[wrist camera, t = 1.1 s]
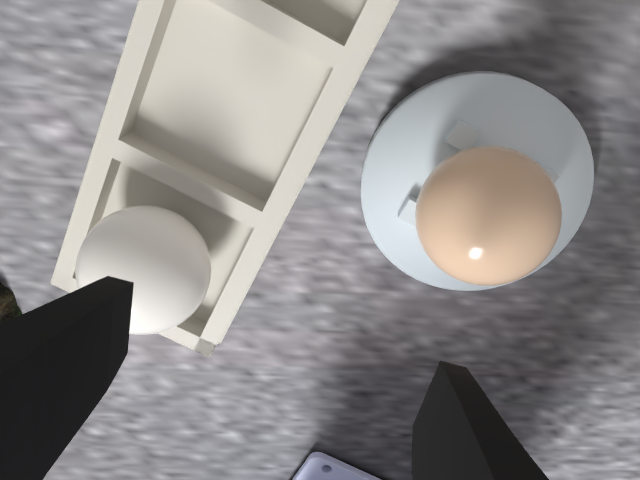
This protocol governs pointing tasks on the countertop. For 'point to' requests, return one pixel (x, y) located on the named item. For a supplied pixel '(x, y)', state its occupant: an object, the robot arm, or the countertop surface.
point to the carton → (222, 128)
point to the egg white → (149, 264)
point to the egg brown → (488, 215)
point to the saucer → (459, 134)
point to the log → (8, 304)
